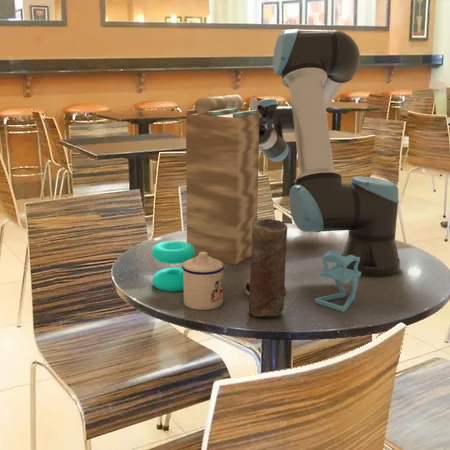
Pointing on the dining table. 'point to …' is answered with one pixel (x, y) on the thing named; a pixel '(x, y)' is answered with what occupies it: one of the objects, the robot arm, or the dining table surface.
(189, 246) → the donuts
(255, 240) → the brown upright cylinder
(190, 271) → the teacup with lid
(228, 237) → the tall wooden crate
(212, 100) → the cream rounded cylinder
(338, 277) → the chair
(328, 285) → the dining table surface
